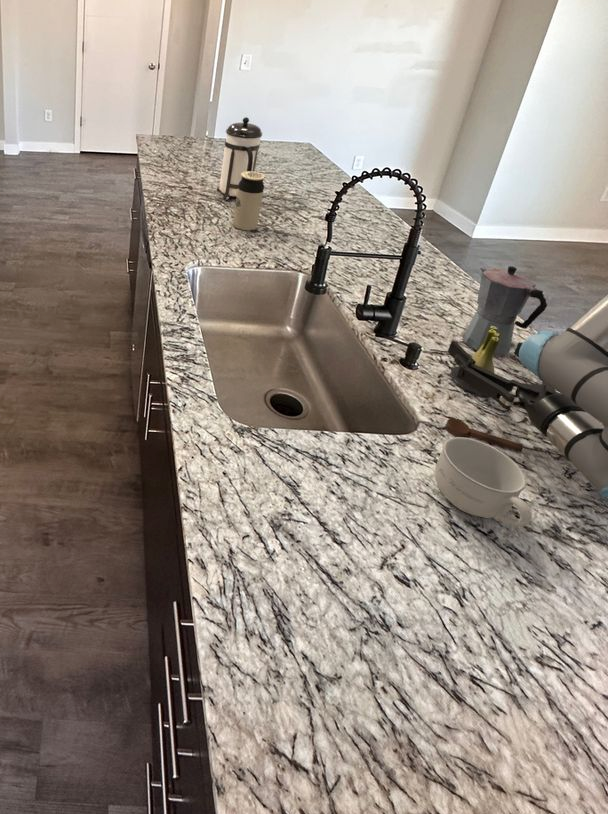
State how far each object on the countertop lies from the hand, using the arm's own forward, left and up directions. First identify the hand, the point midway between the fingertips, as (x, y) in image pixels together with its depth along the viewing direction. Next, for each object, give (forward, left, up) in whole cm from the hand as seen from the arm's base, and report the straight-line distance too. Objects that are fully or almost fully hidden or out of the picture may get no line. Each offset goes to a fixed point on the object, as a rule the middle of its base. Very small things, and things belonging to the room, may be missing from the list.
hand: (484, 347), depth 109 cm
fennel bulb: (0, +1, -8) cm, 8 cm away
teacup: (+3, +36, -8) cm, 37 cm away
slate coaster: (-1, +1, -8) cm, 8 cm away
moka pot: (-5, -15, -8) cm, 17 cm away
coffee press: (+69, -80, -8) cm, 105 cm away
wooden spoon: (-1, +19, -8) cm, 20 cm away
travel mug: (+59, -54, -8) cm, 81 cm away
